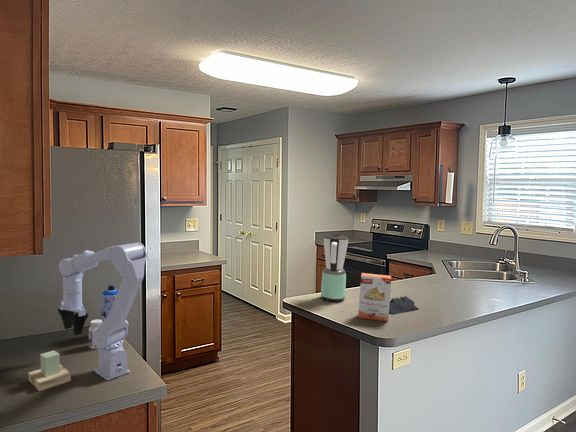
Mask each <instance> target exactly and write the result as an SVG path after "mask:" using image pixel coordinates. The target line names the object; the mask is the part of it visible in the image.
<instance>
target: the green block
mask: <svg viewBox="0 0 576 432" xmlns="http://www.w3.org/2000/svg"><path fill="white" fill-rule="evenodd" d="M39 355H40V369H41V373H42V374H43V375H44V376H46V377H48V376H51V375H54V374H57V373H60V365H61V362H60V361H61V359H60V358H61V357H60V356H61V355H60V353H59V352H57V351H56V350H51V351H47V352H44V353H40V354H39Z"/></svg>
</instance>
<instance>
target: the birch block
mask: <svg viewBox="0 0 576 432" xmlns="http://www.w3.org/2000/svg"><path fill="white" fill-rule="evenodd" d="M28 381H29V383H30V384H32V386H33V387H34V388H36V389H37V391H39V392H41V391H43V390H48V389H50V388H53V387H57V386H59V385H63V384H66V383H68V382H71V381H72V375H71V372H70V371H69V370H68V369H66V368H65V367H64V366H63V365H62V364H60V373H57V374H54V375H51V376H48V377H46V376H44V375H43V374H42V373H41V368H39V369H35V370H32V371H28Z"/></svg>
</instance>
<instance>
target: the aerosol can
mask: <svg viewBox="0 0 576 432" xmlns="http://www.w3.org/2000/svg"><path fill="white" fill-rule="evenodd" d="M115 287H116V286H115V285H108V288H107V289H105V290H104V291H103V292H102V293H101V295H100V304H101V305H100V320H102V322H103V321H104V320H105V319H106V318H107V317H108V315H109V313H110V310H111V308H112V305H113V303H114V300H115V298H116V296H117V293H118V291H119V289H117V288H115Z"/></svg>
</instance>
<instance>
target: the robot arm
mask: <svg viewBox="0 0 576 432" xmlns="http://www.w3.org/2000/svg"><path fill="white" fill-rule="evenodd" d="M148 257H149V256H148V252H147V250H146V247H145V246H144V244H143V243H141V242H139V241H138V242H137V241H136V242H133V243H126V244H125V243H124V244H120V245H119V244H118V245H114V246H109V247H106V248H104V249H101V250H99V251H97V252H94V250H93V251H92V250H86V249H85V250H82V251H81V253H80V254H78V253H77V254H73V255H72V257H68V258H62V259H61V260H59V263H58V270H59V273H60V274H61V276H62V292H63V293H62V296H63V297H62V299H63V300H60V307H59V308H57V312H58V314H59V315H60V318H61V321H62V324H63V327H64V330H67V329H73V330H72V331H73V334H74V336H79V335H82V333H83V329H84V326H85V323H86V321H87V319H88V317H89V313H87V312H86V309H85V308H84V304H83V277H84V274H85V272H86V271H88V270H92V269H94V268H96V267H97V266H99V263H100V262H104V261H108V262H111V263H112V264H113V266H114V267H115V269H116V270H117V273H119V275H120V276H121V277H123V278H122V281H121V284H120V287H119V288H118V290H119V291H118V293H117V296H116V298H115V300H114V303H113V305H112V308H111V310H110V313H109V315H108V317H107V318H106V319H105V320H104V321H103V322H102V323H101V324H100V325H99V327H98V329H97V330H95V331H94V333H93V342H94V344H95V346H96V347H97V348H98V349H97V350H98V354H97V355H98V357H97V359H98V367H95V368H93V369H92V371H93V372H94V373H96V374H97V375H99V376H100V377H101V378H103V379H104V380H106V381H109V380H112V379H115V378H118V377H121V376H123V375H126V374H130V372H131V370H130V369H128V353H127V352H126V350H125V349H124V347H123V343H124V342H125V339H126V338H127V337H128V330H129V329H128V328H129V325H130V324H129V322H128V320H127V318H128V315H129V312H130V310H131V307H132V306H133V304H134V301H135V299H136V296H137V294H138V293H139V290H140V287H141V285H142V282H143V280H144V277H145V265H146V262H147V258H148Z"/></svg>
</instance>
